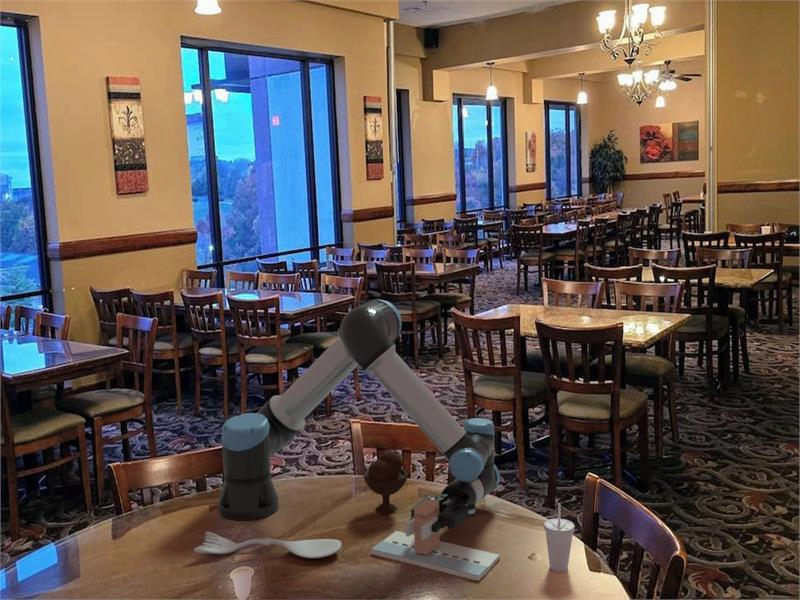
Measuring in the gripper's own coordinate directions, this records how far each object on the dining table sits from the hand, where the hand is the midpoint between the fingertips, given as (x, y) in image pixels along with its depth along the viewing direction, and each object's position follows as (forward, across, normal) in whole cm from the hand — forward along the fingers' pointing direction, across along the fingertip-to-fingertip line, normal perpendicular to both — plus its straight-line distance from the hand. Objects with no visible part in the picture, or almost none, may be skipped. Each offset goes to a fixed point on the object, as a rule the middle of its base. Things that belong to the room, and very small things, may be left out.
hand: (415, 531), depth 170 cm
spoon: (+10, +31, -8) cm, 34 cm away
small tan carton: (-5, 0, -6) cm, 8 cm away
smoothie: (-13, -27, -8) cm, 31 cm away
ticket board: (-5, -2, -8) cm, 9 cm away
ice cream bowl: (-22, +21, -8) cm, 32 cm away
